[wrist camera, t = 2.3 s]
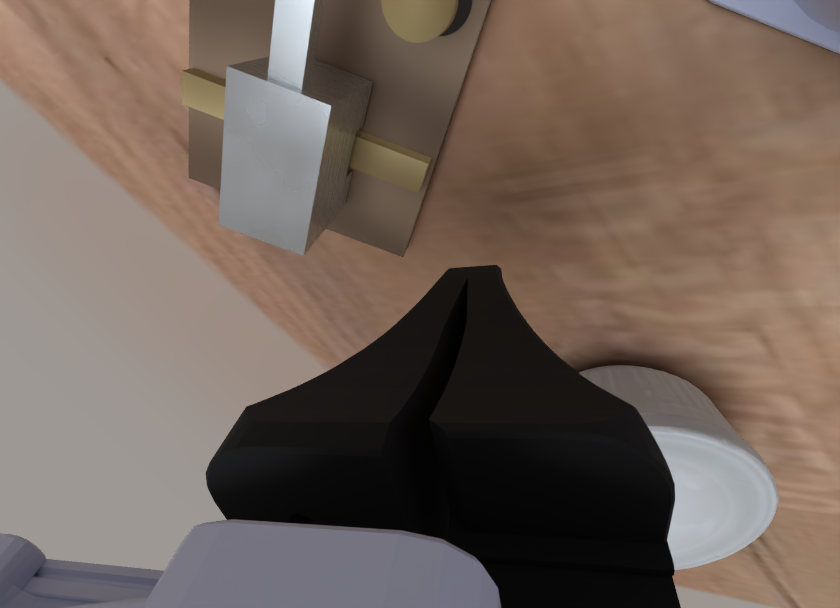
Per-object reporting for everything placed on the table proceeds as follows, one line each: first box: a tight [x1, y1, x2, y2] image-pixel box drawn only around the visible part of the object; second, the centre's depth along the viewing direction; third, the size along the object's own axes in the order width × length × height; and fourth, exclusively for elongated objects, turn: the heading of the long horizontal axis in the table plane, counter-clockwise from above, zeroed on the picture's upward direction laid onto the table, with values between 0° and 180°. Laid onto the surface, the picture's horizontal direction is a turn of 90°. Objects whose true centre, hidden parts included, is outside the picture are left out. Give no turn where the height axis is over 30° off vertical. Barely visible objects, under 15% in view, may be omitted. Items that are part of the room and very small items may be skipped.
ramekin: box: [578, 365, 779, 570], centre depth 23 cm, size 11×11×5 cm
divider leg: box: [219, 0, 373, 256], centre depth 14 cm, size 8×3×4 cm, turn 163°
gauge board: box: [182, 0, 492, 257], centre depth 15 cm, size 13×10×6 cm
